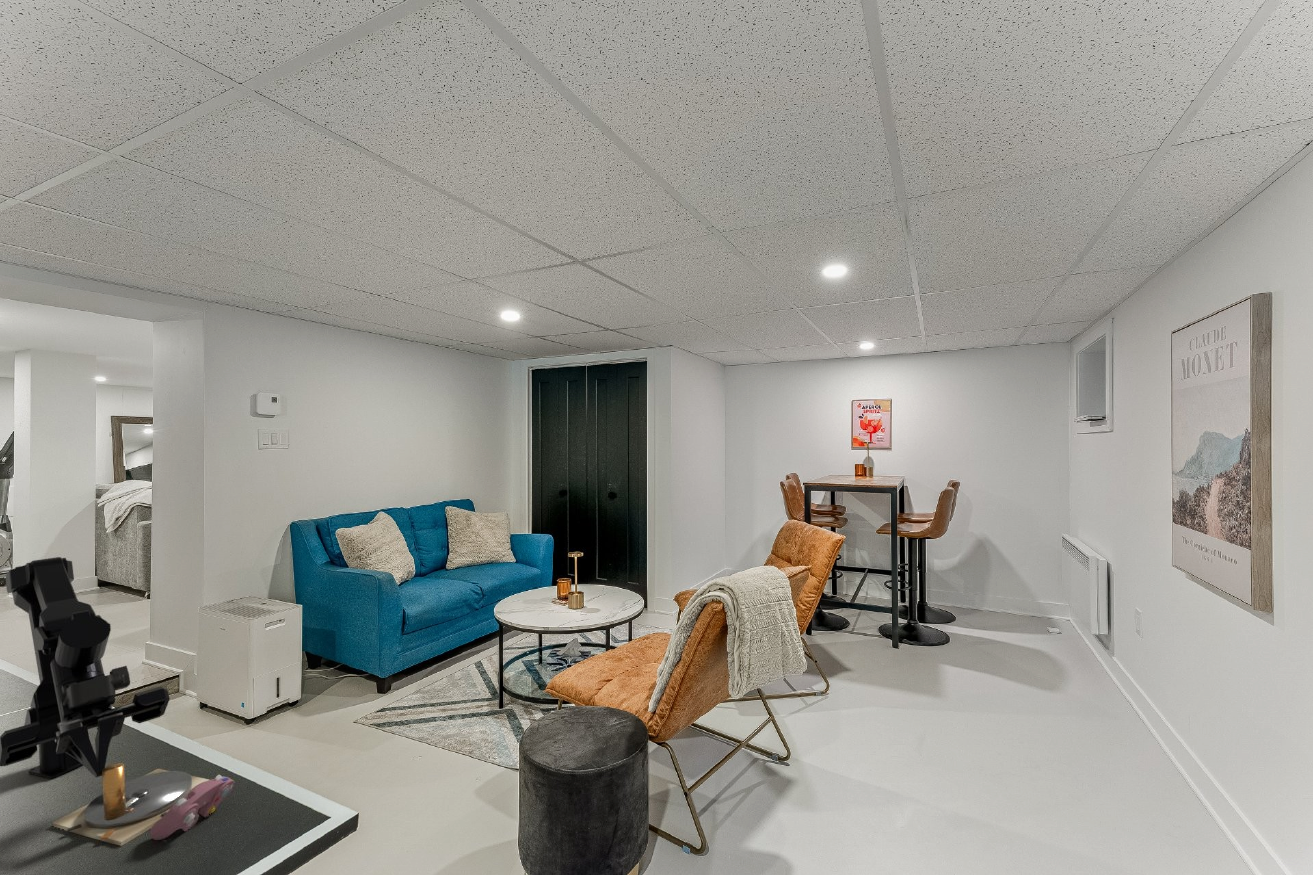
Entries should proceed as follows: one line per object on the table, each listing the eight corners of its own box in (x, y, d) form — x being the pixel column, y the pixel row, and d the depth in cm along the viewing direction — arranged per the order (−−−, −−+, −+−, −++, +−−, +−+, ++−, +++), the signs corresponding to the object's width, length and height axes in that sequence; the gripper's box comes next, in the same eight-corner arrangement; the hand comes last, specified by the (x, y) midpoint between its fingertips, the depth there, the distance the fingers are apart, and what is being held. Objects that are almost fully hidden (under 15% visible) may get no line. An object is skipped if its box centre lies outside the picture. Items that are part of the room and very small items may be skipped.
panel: (46, 829, 89) (45, 824, 89) (158, 772, 104) (158, 767, 104) (119, 850, 85) (118, 844, 85) (225, 786, 99) (225, 782, 99)
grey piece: (68, 838, 86) (66, 782, 86) (103, 790, 98) (101, 740, 97) (180, 812, 92) (177, 759, 91) (200, 769, 103) (198, 721, 103)
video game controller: (168, 855, 86) (184, 814, 85) (144, 838, 86) (160, 797, 86) (229, 811, 95) (245, 774, 95) (207, 796, 96) (222, 759, 95)
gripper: (-4, 676, 84) (12, 781, 78) (163, 637, 99) (188, 722, 93) (-8, 716, 89) (6, 817, 83) (151, 673, 104) (174, 756, 98)
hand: (100, 775), depth 89 cm, fingers closed
